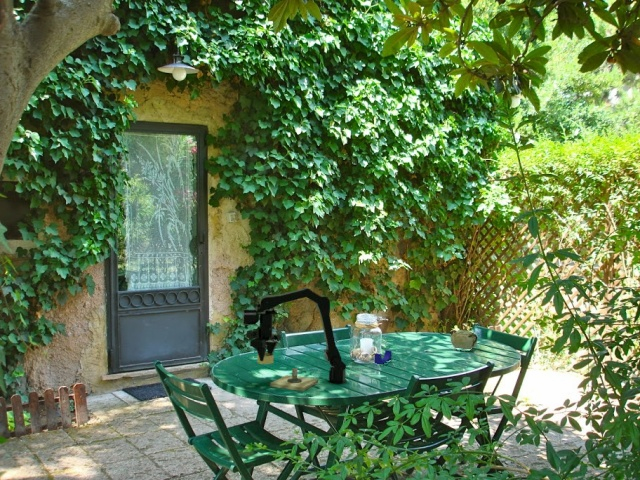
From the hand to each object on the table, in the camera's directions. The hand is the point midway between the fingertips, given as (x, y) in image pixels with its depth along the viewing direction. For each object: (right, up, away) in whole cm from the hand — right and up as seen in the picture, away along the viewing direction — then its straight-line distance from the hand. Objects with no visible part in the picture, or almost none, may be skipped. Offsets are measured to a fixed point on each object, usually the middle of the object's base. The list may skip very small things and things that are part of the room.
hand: (265, 359), depth 280 cm
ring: (0, -1, 0) cm, 1 cm away
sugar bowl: (+107, -11, +84) cm, 136 cm away
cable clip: (+57, -11, +45) cm, 74 cm away
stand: (+13, -11, 0) cm, 17 cm away
